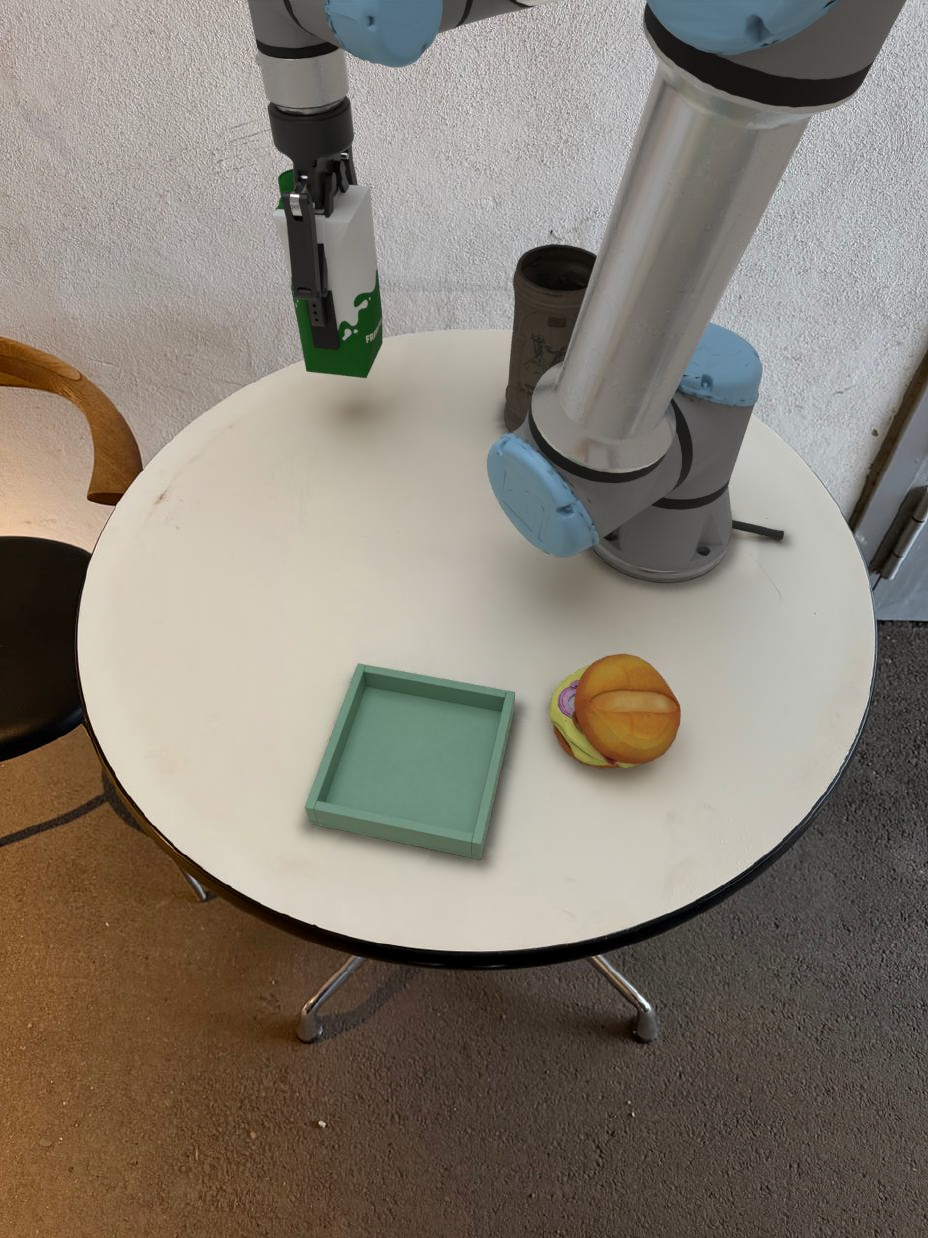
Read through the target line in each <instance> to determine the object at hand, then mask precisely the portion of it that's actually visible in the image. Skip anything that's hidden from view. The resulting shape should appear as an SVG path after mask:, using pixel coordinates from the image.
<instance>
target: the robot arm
mask: <svg viewBox="0 0 928 1238" xmlns="http://www.w3.org/2000/svg"><path fill="white" fill-rule="evenodd" d="M561 1H562V0H247V4H248V9H249V15H250V19H251V25H252V29H253V30H252V31H253V35H254V39H255V45H256V49H257V53H255V59H254V60H255V64H256V65H257V66H259V67H260V72H261V77H262V83H263V88H264V95H265V98H266V99H267V100H268V101H269V103H268V105H267V115H268V119H269V127H270V131H271V137H272V142H273V145H274V147H275V149H276V150H277V151H278V152H279V153H281V154H282V155H284V156H286V157H287V158H289V159H290V161H291V162H292V169H293V187H294V190H293V191H292V192H287V191H283V193H282V204H283V208H284V212H285V216H286V222H287V232H288V243H289V253H290V264H291V274H292V285H293V295H294V298H295V299H303V300H306V305H307V311H308V316H309V322H310V328H311V333H312V339H313V345H314V348H319V349H328V350H336V351H338V350H339V348H340V342H339V335H338V328H337V322H336V315H335V308H334V301H333V295H332V291H331V290H328V269H327V261H326V258H325V250H324V243H317V233H316V221H315V215H324V216H325V218H329V217H330V216H331V214H332V213H333V198H334V196H335V195H336V193H337V192H338V187H339V189H340V191H341V192H340V193H346V191H347V190H348V188H349V185H356V186H359V183H358V178H357V174H356V168H355V163H354V162H355V161H354V155H353V143H354V139H355V131H354V129H355V128H354V121H353V113H352V112H353V111H352V103H351V100H350V98H349V97H348V96H347V95H348V93H349V92H350V80H349V71H348V63H347V56H346V53H349V54H351V56H353V57H354V58H357V59H359V60H361V61H363V62H365V61H367V62H369V63H371V64H375V65H382V66H384V67H387V68H391V69H392V68H394V69H398V68H399V69H400V68H405V67H408V66H411V65H413V64H415V63H417V62H418V61H419V59H420V58H421V57H422V55H423V54H424V53H425V52H426V50H428V49H429V48H430V47H431V46H432V44H434V42H435V39H436V37H437V35H440V34H442V33H445V32H448V31H451V30H454V29H457V28H459V27H463V26H465V25H469V24H473V23H476V22H480V21H483V20H486V19H489V18H490V19H491V18H494V17H497V16H501V15H506V14H510V13H514V12H519V11H523V10H528V9H532V8H534V7H538V6H541V5H542V6H543V5H546V4H547V5H548V4H551V3H555V2H561ZM645 1H646V3H645V6H644V9H643V15H642V29H643V33H644V36H645V38H646V40H647V42H648V45H649V46H650V48H651V50H652V52H653V54H654V56H655V58H656V60H657V61H658V62H657V65H656V70H655V73H654V76H653V79H652V82H651V85H650V87H649V92H648V95H647V98H646V101H645V104H644V108H643V110H642V114H641V117H640V120H639V123H638V126H637V129H636V133H635V136H634V137H633V138H634V139H633V142H632V146H631V148H630V151H629V154H628V157H627V161H626V164H625V167H624V170H623V172H622V176H621V180H620V183H619V186H618V189H617V192H616V195H615V198H614V202H613V204H612V208H611V211H610V214H609V217H608V220H607V223H606V226H605V229H604V233H603V235H602V236H603V237H602V239H601V241H600V245H599V249H598V252H597V258H596V261H595V264H594V267H593V271H592V274H591V277H590V280H589V283H588V286H587V289H586V293H585V296H584V299H583V302H582V305H581V308H580V311H579V315H578V318H577V321H576V324H575V327H574V330H573V333H572V337H571V340H570V343H569V346H568V349H567V352H566V355H565V359H564V361H563V362H560V363H558V364H556V365H555V366H553V367H552V368H550V369H549V370H548V371H546V373H545V374H544V375H543V376H542V377H541V378H540V380H539V381H538V383H537V385H536V387H535V389H534V392H533V395H532V399H531V402H530V406H529V409H528V413H527V416H526V419H525V421H524V423H523V424H522V425H521V426H520V427H519V428H518V429H517V430H516V431H514V432H506V433H504V434H502V436H500V438H499V439H498V440H497V441H495V442H494V443H493V444H492V445H491V446H490V448H489V450H488V453H487V456H486V472H487V477H488V480H489V484H490V487H491V490H492V492H493V494H494V496H495V498H496V500H497V502H498V504H499V506H500V508H501V510H502V511H503V513H504V514H505V516H506V518H507V519H508V520H509V521H510V523H511V524H512V525H513V527H514V528H515V529H516V530H517V531H518V532H519V533H520V534H521V535H522V537H523V538H524V539H525V540H526V541H527V542H529V544H531V545H532V546H533V547H535V548H536V549H538V550H539V551H541V552H543V553H545V554H547V555H552V556H554V557H556V558H571V557H574V556H576V555H578V554H580V553H582V552H584V551H586V550H588V549H590V548H592V549H593V550H594V551H595V553H596V554H597V555H598V556H599V557H600V558H601V559H602V560H603V561H604V562H606V563H607V564H608V565H609V566H611V567H613V569H616V570H617V571H620V572H621V573H623V574H626V575H628V576H631V577H633V578H637V579H640V580H644V581H650V582H656V583H657V582H658V583H674V582H682V581H687V580H692V579H694V578H697V577H700V576H702V575H704V574H706V573H708V572H709V571H711V570H712V569H713V568H715V567H716V566H717V565H718V564H719V563H720V561H722V559H723V557H724V556H725V555H726V552H727V550H728V546H729V544H730V541H731V539H732V538H731V537H732V535H733V530H736V531H741V532H746V533H750V534H753V535H759V536H763V537H766V538H771V539H776V540H783V539H784V538H785V531H784V530H779V529H775V528H770V527H766V526H763V525H758V524H753V523H751V522H750V523H749V522H746V521H745V522H744V521H740V520H735V519H733V515H732V514H733V513H732V507H731V496H730V489H729V485H730V481H731V478H732V475H733V472H734V469H735V467H736V463H737V460H738V457H739V454H740V451H741V449H742V445H743V441H744V439H745V435H746V432H747V429H748V426H749V423H750V420H751V417H752V414H753V411H754V407H755V404H757V402H758V400H759V397H760V393H759V389H760V386H761V385H760V384H761V381H762V377H763V372H764V371H763V363H762V361H761V359H760V355H759V353H758V351H757V350H756V349H755V348H754V346H753V345H752V344H751V343H750V342H749V341H748V340H746V338H744V337H743V336H741V335H740V334H738V333H736V332H734V331H732V330H731V329H729V328H726V327H724V326H721V325H719V324H717V323H712V322H711V321H712V319H713V317H714V314H715V313H716V311H717V308H718V306H719V305H720V303H721V301H722V298H723V296H724V295H725V292H726V291H727V288H728V287H729V285H730V282H731V281H732V278H733V277H734V274H735V272H736V270H737V268H738V266H739V264H740V263H741V260H742V258H743V256H744V255H745V252H746V251H747V248H748V246H749V245H750V242H751V240H752V239H753V236H754V235H755V234H754V233H755V232H756V230H757V229H758V226H759V224H760V222H761V221H762V218H763V216H764V214H765V212H766V210H767V208H768V206H769V204H770V202H771V200H772V198H773V195H774V194H775V192H776V189H777V188H778V186H779V184H780V182H781V180H782V179H783V175H784V174H785V171H786V170H787V168H788V166H789V164H790V162H791V159H792V158H793V156H794V155H795V151H796V150H797V148H798V145H800V142H801V139H802V138H803V136H804V133H805V131H806V130H807V128H808V126H809V123H810V121H811V119H812V118H813V116H815V115H819V114H822V113H825V112H828V111H829V110H833V109H835V108H838V107H841V106H843V105H844V104H845V103H847V102H849V101H851V99H852V98H853V97H854V96H856V94H857V92H858V91H859V90H860V89H861V86H862V85H863V84H864V81H865V80H866V78H867V76H868V74H869V72H870V70H871V69H872V66H873V64H874V63H875V61H876V59H877V57H878V55H879V54H880V51H881V50H882V48H883V46H884V45H885V42H886V40H887V39H888V36H889V34H890V33H891V31H892V29H893V27H894V25H895V23H896V21H897V19H898V17H899V16H900V13H901V12H902V10H903V8H904V6H905V4H906V2H907V0H645ZM314 209H324V212H323V213H314Z"/></svg>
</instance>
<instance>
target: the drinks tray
mask: <svg viewBox="0 0 928 1238" xmlns="http://www.w3.org/2000/svg"><path fill="white" fill-rule="evenodd" d="M515 702H516V691H512V690H506V689H501V688H496V687H491V686H485V685H480V684H473V683H469V682H463V681H458V680H452V679H447V678H441V677H435V676H431V675H425V674H420V673H419V674H418V673H414V672H408V671H403V670H397V669H391V668H386V667H381V666H375V665H370V664H364V663H360V662H358V663H356V667H355V670H354V672H353V674H352V678H351V681H350V683H349V686H348V688H347V691H346V693H345V696H344V699H343V702H342V705H341V707H340V710H339V713H338V715H337V718H336V721H335V723H334V726H333V729H332V732H331V735H330V737H329V740H328V744H327V745H326V749H325V751H324V754H323V757H322V758H321V762H320V764H319V767H318V769H317V773H316V775H315V778H314V781H313V783H312V786H311V789H310V792H309V794H308V798H307V799H306V803H305V805H304V809H305V812H306V815H307V818H308V821H309V824H310V825H314V826H315V825H316V826H320V827H325V828H330V829H335V830H338V831H344V832H348V833H352V834H357V835H362V836H366V837H370V838H371V837H372V838H376V839H382V840H386V841H391V842H396V843H400V844H404V845H409V846H414V847H418V848H423V849H429V850H433V851H438V852H442V853H448V854H450V855H451V854H452V855H457V856H462V857H466V858H470V859H476V860H482V858H483V853H484V848H485V844H486V839H487V835H488V830H489V826H490V822H491V817H492V813H493V807H494V803H495V800H496V795H497V790H498V785H499V780H500V775H501V771H502V767H503V763H504V758H505V754H506V749H507V745H508V740H509V736H510V732H511V726H512V722H513V718H514V712H515V705H516V703H515Z"/></svg>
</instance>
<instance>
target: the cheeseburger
mask: <svg viewBox="0 0 928 1238" xmlns="http://www.w3.org/2000/svg"><path fill="white" fill-rule="evenodd" d="M681 712H682V711H681V704H680V702H679V700H678V698H677V697H676V696H675V693H674V692H673V690H672V689H671V687H670V686H669V684H668V682H667V681H666V680H665V679H664V677H663V676H662V674H660V671H658V670H657V668H655V667H654V666H653V665H652V664H651V663H649V662H648V661H646V660H644V659H643V658H642V657H640V656H637V655H633V654H629V653H618V654H617V653H616V654H611V655H606V656H604V657H601V658H599V659H597V660H595V661H594V662H592V663H591V664H590V665H589V664H588V665H586V666H584V667H581V668H579V669H578V670H576V671H575V672H573V673H571V674H569V675H568V676H567V677H565V678H564V679H563V680H562V681H561V682H560V683H559V684H558V685H557V686H556V688H555V689H554V691H553V693H552V696H551V698H550V702H549V705H548V716H549V720H550V723H552V725H553V732H554V735H555V736H556V738H557V741H558V742H559V744H560V746H561V747H562V749H563V751H564V752H565V753H567V754H568V755H569V756H571V757H572V758H573V759H575V761H577V762H578V763H580V764H581V765H585V766H589V767H593V768H597V769H599V770H600V769H601V770H604V769H617V768H618V769H619V768H623V769H627V768H633V767H635V766H638V765H641V764H644V763H650V762H653V761H654V760H656V759H658V758H660V757H661V756H663V755H665V754H666V752H667V751H669V749H670V748H671V747H672V745H673V743H674V741H675V740H676V737H677V734H678V731H679V729H680V725H681V715H682V713H681Z"/></svg>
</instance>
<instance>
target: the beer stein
mask: <svg viewBox="0 0 928 1238" xmlns="http://www.w3.org/2000/svg"><path fill="white" fill-rule="evenodd" d="M597 255H598V254H597ZM597 255H596V254H595V252H592V251H589V250H587V249H585V248H582V247H580V246H575V245H569V244H558V243H549V244H545V245H540V246H536V247H533V248H530V249H529V250H527V251H525V252H524V253H523V254H522V255H521V256H520V257H519V258H518V260H517V263H516V267H515V271H514V273H513V277H512V287H513V299H514V306H513V322H512V333H511V341H510V342H511V343H510V354H509V367H508V380H507V382H508V383H507V386H506V388H505V393H504V394H505V396H504V398H505V405H504V410H503V420H504V422H505V425H506V427H507V429H508V430H509V431H510V433H512V432H514V431H516V430H517V429H518V428H519V427H520V426H521V425H522V424H523V423H524V421H525V419H526V416H527V413H528V409H529V406H530V402H531V399H532V395H533V392H534V389H535V387H536V385H537V383H538V381H539V380H540V378H541V377H542V376H543V375H544V374H545V373H546V371H548V370H549V369H550V368H552V367H553V366H555V365H556V364H558V363H560V362H563V361H564V359H565V355H566V352H567V349H568V346H569V343H570V340H571V337H572V333H573V330H574V327H575V324H576V321H577V318H578V315H579V311H580V308H581V305H582V302H583V299H584V296H585V293H586V289H587V286H588V283H589V280H590V277H591V274H592V271H593V267H594V264H595V261H596V258H597Z"/></svg>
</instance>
